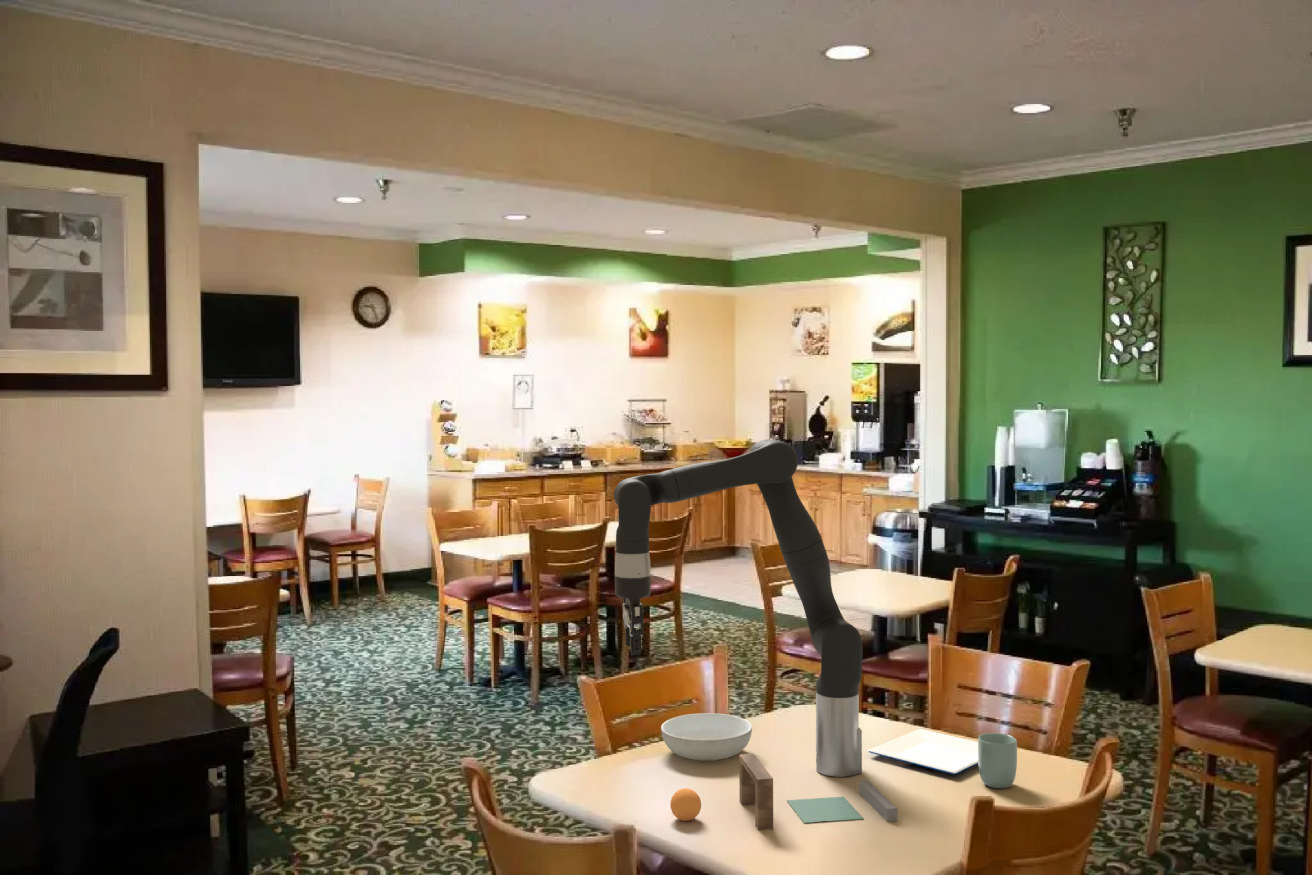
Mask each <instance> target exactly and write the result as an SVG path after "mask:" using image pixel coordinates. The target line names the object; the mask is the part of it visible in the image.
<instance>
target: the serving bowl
mask: <svg viewBox="0 0 1312 875" xmlns="http://www.w3.org/2000/svg"><path fill="white" fill-rule="evenodd" d="M660 732H661V735H662V740H663V742H664V744H665V745H666V747H668V749H669V750H670V751H671V752H672V753H674V754H676V755H677V756H679V757H682V758H685V759H690V760H695V761H699V762H700V761H701V762H712V761H713V762H714V760H715V761H718V760H719V759H720V760H723V759H727V758H731V757H733V756H735V755H737V754H739V753H741V752H742V751H743V750H744V749H745V748H746V747H747V746H748V744H749V742H750V739H751V737H752V732H753V725H752V723H751V722H750V721H748V720H747V719H745V718H743V717H740V716H736V715H732V714H725V713H715V712H714V713H713V712H711V713H710V712H708V713H707V712H706V713H701V712H700V713H689V714H684V715H683V714H682V715H679V716H676V717H672V718H670V719H667V720H666V721H664V722H663V723H662V724H661V727H660ZM683 736H684V737H683Z"/></svg>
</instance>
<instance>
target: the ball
mask: <svg viewBox="0 0 1312 875" xmlns="http://www.w3.org/2000/svg"><path fill="white" fill-rule="evenodd" d="M669 805H670V811H671V813H672V814H673V816H674V817H675V818H676V819H678V820H680V821H684V822H688V821H693V820H694V819H695V818H697V817H698V815H699V814H700V812H701V809H702V801H701V797H700V796H699V794H698V793H697V792H696V791H695V790H693V789H691V788H687V787H686V788H681V789H678V790H677V791H675V793H674V794H673V795H672V796H671V799H670V804H669Z"/></svg>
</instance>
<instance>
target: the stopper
mask: <svg viewBox="0 0 1312 875" xmlns="http://www.w3.org/2000/svg"><path fill="white" fill-rule="evenodd" d="M858 793H859V794H860V795H861V796H862V797H863V798H864V799H865V800H866V802H867V803H868V804H869V805H870V804H871V805H870V806H872V808H873V809H874V810H875V811H876V812H877V813H878V814H879V815H880V816H881V817H882V818H883V820H885V822H887V823H889V822H890V821H891V822H898V808H897V807H896V805H895V804H893V802H891V801H890V800H889V799H888V798H887V797H886V796H885V795H884V794H883V793H882V792H881V791H880V790H879V789H878V788H877V787H876V786H875V785H874V784H873V783H872V782H871V781H870V780H867V779H866V780H859V781H858Z"/></svg>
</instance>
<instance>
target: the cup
mask: <svg viewBox="0 0 1312 875" xmlns="http://www.w3.org/2000/svg"><path fill="white" fill-rule="evenodd" d="M977 742H978V764H977V766H978V772H979V778H980V780H981V781H982V782H983V783H984V785H986V786H987V787H990V788H992V789H993V788H994V789H1006V788H1009V787H1011V786H1012V785H1013V784H1014V782H1015V779H1016V777H1017V776H1016V775H1017V765H1018V741H1017V739H1016V738H1015V737H1014V736H1012V735H1009V734H1006V733H999V732H989V733H987V732H985V733H982V734H979V736H978V738H977Z"/></svg>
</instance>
